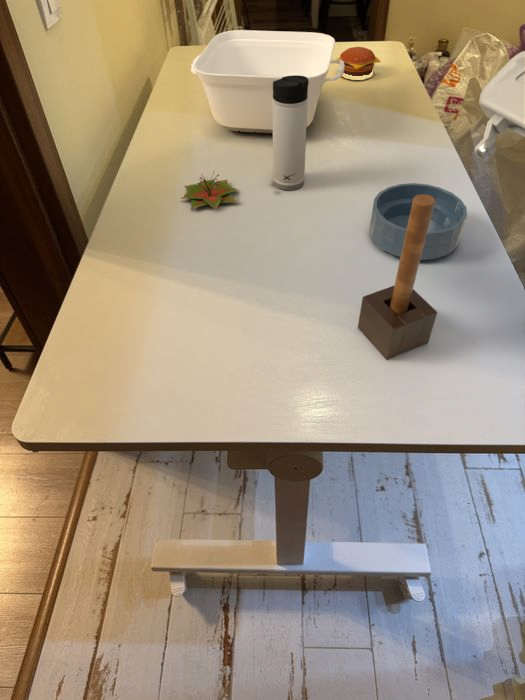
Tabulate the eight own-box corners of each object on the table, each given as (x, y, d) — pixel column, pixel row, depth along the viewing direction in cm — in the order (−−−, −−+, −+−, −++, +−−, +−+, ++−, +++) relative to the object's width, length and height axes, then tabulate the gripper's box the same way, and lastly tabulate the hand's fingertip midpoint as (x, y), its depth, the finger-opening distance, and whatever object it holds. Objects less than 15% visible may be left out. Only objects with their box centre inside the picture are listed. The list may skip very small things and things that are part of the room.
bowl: (440, 209, 96) (448, 180, 92) (470, 259, 86) (481, 229, 82) (360, 216, 96) (364, 186, 91) (381, 267, 85) (387, 236, 81)
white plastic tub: (343, 98, 131) (349, 33, 120) (334, 151, 112) (340, 79, 102) (213, 92, 136) (207, 28, 125) (183, 142, 117) (173, 72, 106)
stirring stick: (398, 328, 76) (431, 193, 59) (402, 340, 74) (438, 204, 58) (382, 329, 76) (410, 194, 59) (386, 341, 74) (417, 206, 58)
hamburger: (355, 66, 146) (358, 40, 141) (380, 76, 141) (384, 49, 136) (330, 74, 142) (333, 47, 138) (355, 84, 137) (358, 57, 132)
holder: (398, 311, 78) (405, 281, 74) (428, 342, 74) (437, 312, 69) (357, 327, 76) (362, 296, 72) (386, 360, 72) (393, 329, 67)
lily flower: (175, 186, 104) (172, 164, 101) (233, 177, 106) (232, 156, 103) (184, 218, 96) (180, 196, 93) (247, 208, 98) (245, 186, 95)
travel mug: (291, 195, 101) (294, 87, 86) (266, 183, 104) (264, 78, 89) (311, 182, 104) (317, 76, 89) (286, 171, 107) (288, 67, 92)
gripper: (693, 122, 53) (583, 228, 58) (541, 60, 66) (460, 150, 70) (690, 84, 49) (570, 203, 53) (527, 25, 61) (441, 125, 66)
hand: (506, 172), depth 62 cm, fingers open, 8 cm apart
